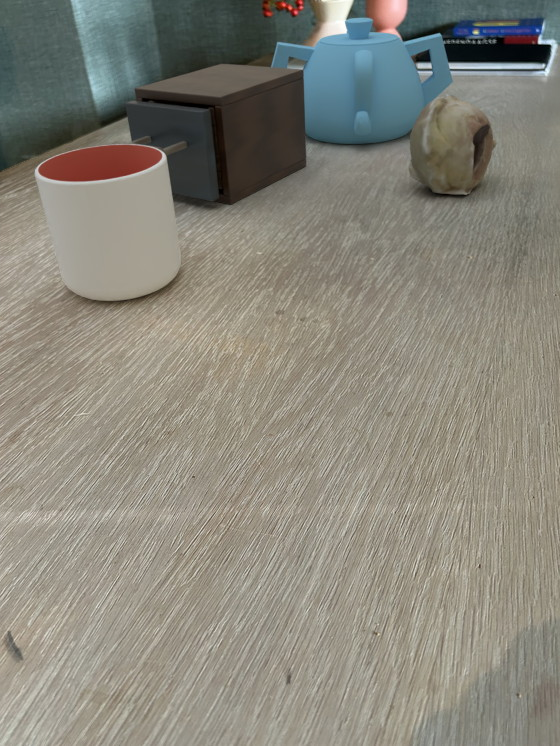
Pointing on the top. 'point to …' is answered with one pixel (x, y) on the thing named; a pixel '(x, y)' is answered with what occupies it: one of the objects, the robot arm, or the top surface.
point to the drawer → (180, 143)
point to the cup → (111, 220)
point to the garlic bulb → (450, 146)
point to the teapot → (365, 83)
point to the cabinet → (246, 120)
